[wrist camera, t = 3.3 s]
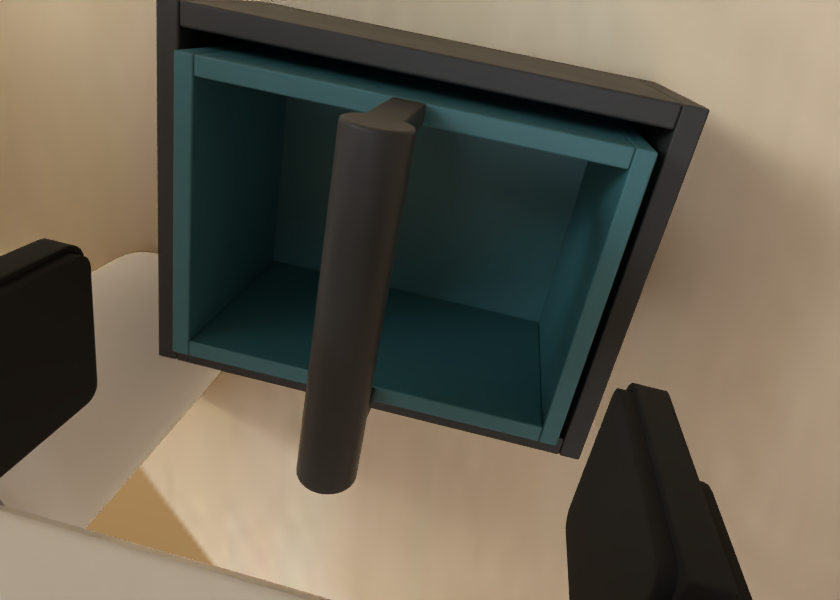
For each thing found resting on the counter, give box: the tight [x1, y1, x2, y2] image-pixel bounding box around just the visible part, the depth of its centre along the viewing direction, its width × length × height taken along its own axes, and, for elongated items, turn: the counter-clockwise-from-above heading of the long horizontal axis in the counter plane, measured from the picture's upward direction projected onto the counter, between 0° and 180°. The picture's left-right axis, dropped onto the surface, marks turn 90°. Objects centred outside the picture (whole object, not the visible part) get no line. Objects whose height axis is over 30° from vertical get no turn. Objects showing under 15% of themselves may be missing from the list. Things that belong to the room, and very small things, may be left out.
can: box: [0, 252, 221, 529], centre depth 21 cm, size 6×6×12 cm
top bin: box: [173, 43, 658, 494], centre depth 17 cm, size 11×8×11 cm
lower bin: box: [157, 0, 709, 459], centre depth 19 cm, size 13×10×7 cm
